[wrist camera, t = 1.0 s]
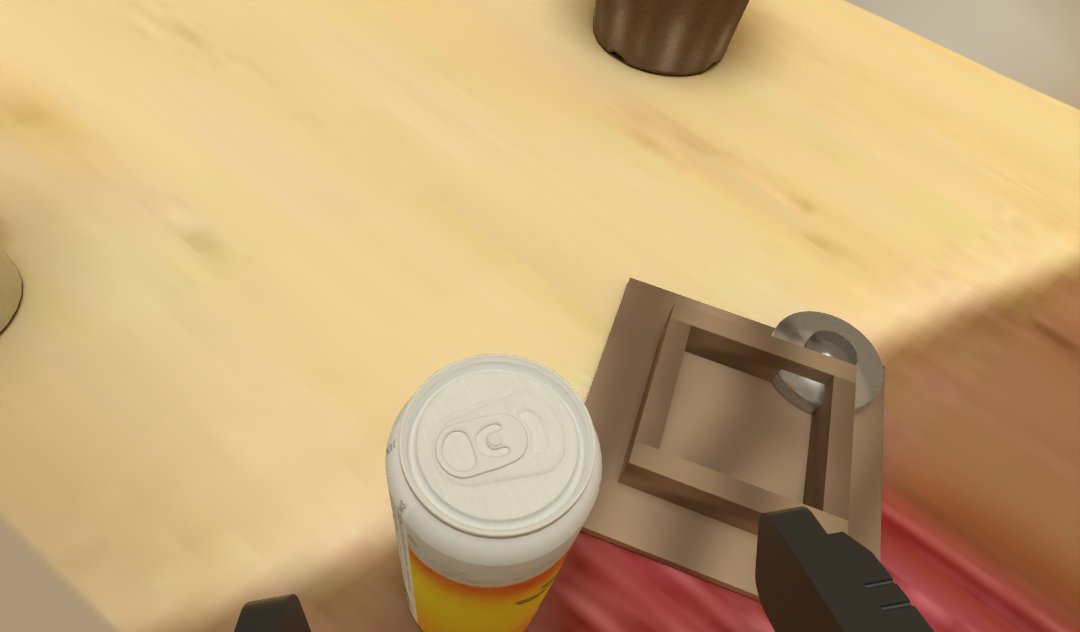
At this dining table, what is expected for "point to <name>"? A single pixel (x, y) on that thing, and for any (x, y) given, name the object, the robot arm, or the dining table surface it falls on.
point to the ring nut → (834, 342)
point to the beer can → (489, 490)
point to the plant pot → (667, 32)
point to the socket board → (723, 439)
